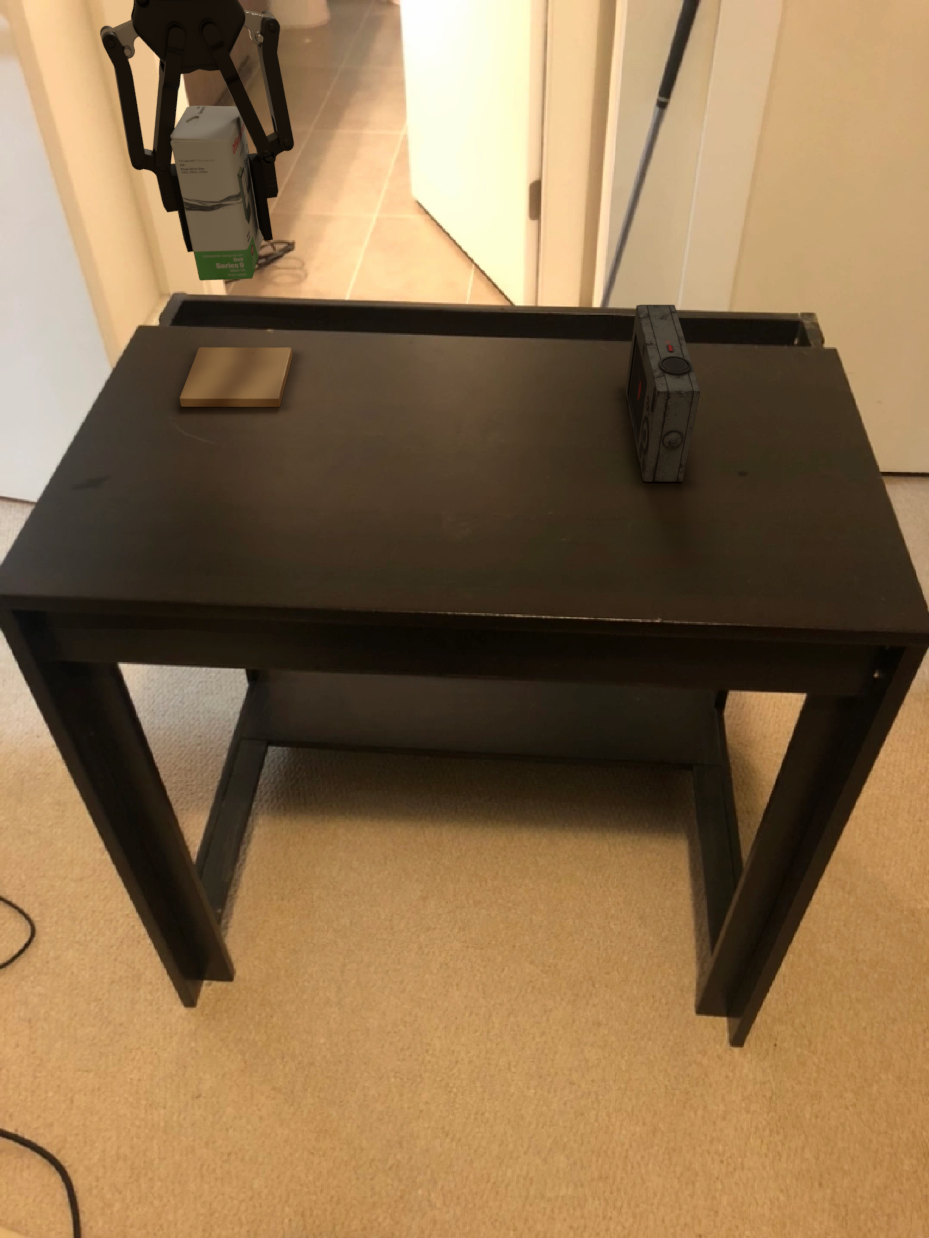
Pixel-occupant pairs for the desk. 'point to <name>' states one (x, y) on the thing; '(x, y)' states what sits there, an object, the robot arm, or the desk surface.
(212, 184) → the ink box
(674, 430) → the camera
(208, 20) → the robot arm
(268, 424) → the desk surface
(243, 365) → the cork mat
